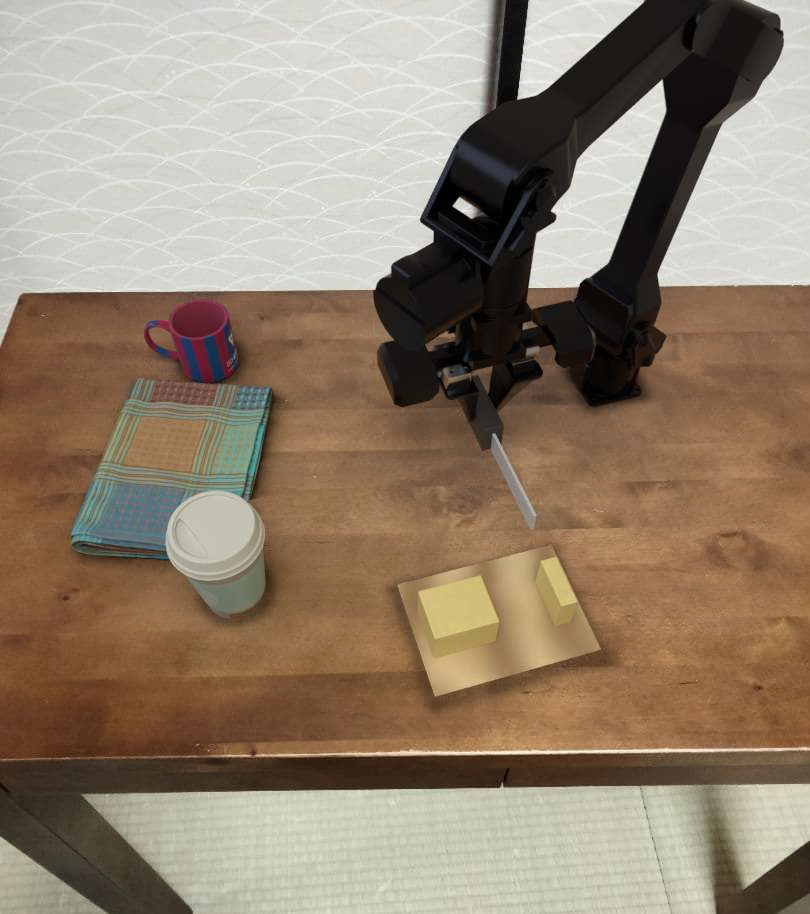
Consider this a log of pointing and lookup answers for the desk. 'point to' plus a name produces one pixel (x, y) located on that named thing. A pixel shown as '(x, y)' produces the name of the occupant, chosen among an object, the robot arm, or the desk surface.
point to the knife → (498, 447)
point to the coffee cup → (219, 550)
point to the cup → (199, 340)
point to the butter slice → (555, 591)
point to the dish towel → (170, 461)
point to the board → (502, 624)
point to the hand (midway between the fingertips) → (479, 415)
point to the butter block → (457, 616)
